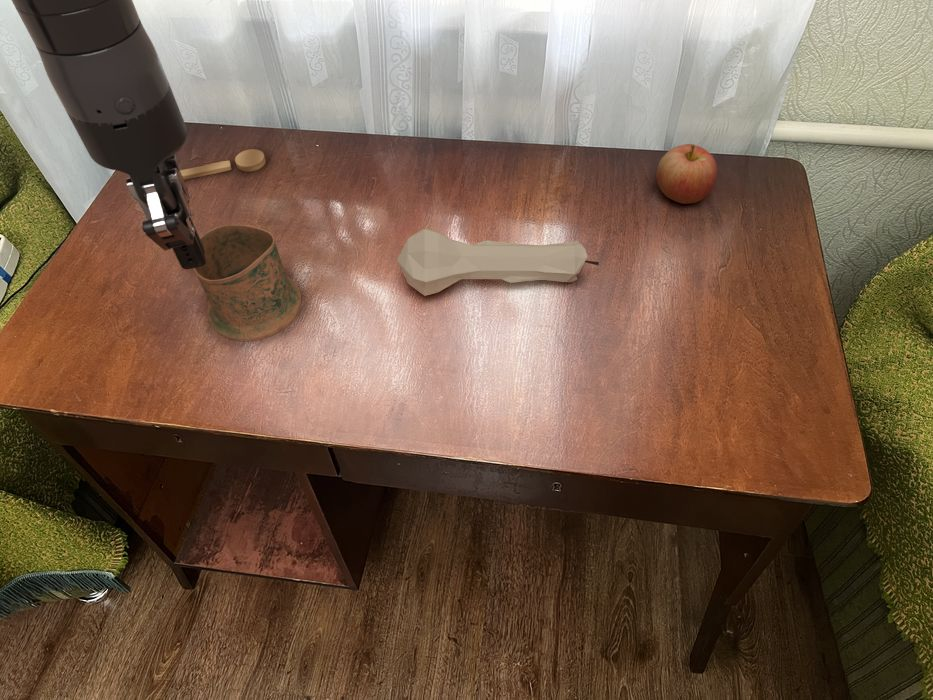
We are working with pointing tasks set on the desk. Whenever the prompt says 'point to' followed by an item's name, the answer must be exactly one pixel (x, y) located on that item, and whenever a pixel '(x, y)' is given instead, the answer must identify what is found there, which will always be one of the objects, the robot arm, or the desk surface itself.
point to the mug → (246, 283)
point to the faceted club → (485, 261)
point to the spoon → (229, 165)
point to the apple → (687, 173)
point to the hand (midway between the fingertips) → (194, 260)
